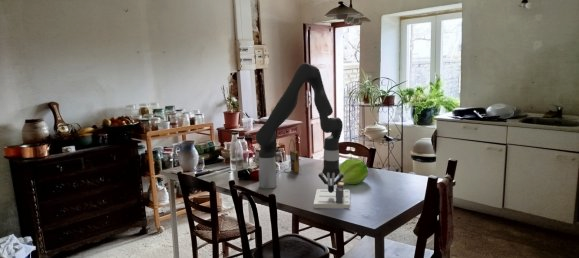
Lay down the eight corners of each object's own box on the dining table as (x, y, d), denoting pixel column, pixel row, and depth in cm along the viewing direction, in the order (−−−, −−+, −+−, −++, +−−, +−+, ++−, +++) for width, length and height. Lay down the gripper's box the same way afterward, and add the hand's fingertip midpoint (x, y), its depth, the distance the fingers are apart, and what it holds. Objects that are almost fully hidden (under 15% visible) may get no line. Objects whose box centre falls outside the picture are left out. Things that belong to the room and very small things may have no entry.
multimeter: (277, 170, 258) (276, 140, 255) (291, 168, 262) (291, 138, 259) (287, 176, 245) (286, 144, 242) (302, 173, 249) (301, 142, 246)
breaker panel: (313, 207, 191) (313, 203, 191) (317, 192, 213) (316, 189, 213) (349, 208, 189) (349, 204, 189) (349, 193, 210) (349, 189, 210)
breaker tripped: (337, 197, 198) (337, 184, 197) (337, 194, 202) (337, 182, 201) (343, 197, 198) (343, 184, 197) (343, 194, 202) (343, 182, 201)
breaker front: (335, 202, 191) (335, 190, 190) (336, 200, 194) (335, 188, 193) (342, 203, 190) (342, 190, 189) (342, 200, 194) (342, 188, 193)
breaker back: (336, 192, 206) (336, 180, 205) (337, 189, 210) (336, 178, 209) (342, 192, 206) (342, 180, 205) (342, 189, 210) (342, 178, 209)
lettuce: (355, 195, 214) (332, 193, 224) (376, 176, 229) (354, 175, 240) (348, 170, 210) (325, 169, 221) (370, 153, 225) (348, 153, 236)
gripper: (345, 156, 200) (344, 190, 203) (318, 156, 202) (318, 189, 205) (344, 160, 193) (344, 195, 196) (317, 159, 194) (316, 194, 198)
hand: (330, 192), depth 200 cm, fingers closed
